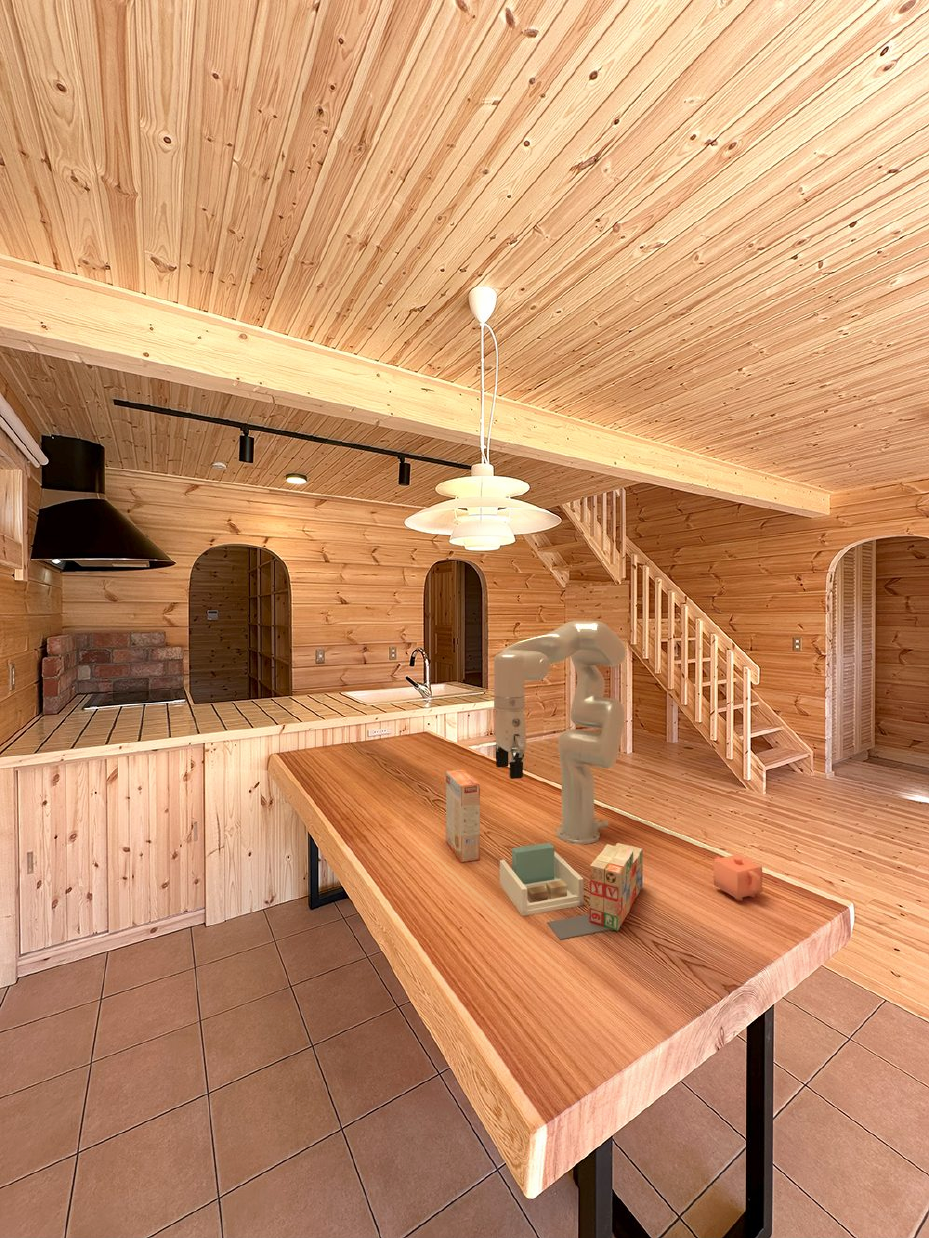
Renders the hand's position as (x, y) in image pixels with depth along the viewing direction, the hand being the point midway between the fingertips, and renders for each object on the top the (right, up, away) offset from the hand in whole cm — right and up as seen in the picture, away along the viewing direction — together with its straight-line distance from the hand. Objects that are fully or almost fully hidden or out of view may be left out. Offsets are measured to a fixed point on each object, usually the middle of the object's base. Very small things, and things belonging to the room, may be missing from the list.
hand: (509, 772), depth 128 cm
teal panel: (+6, -26, -2) cm, 27 cm away
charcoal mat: (+14, -27, -19) cm, 36 cm away
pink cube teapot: (+53, -27, -5) cm, 60 cm away
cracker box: (-11, -27, +17) cm, 34 cm away
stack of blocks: (+24, -27, -10) cm, 37 cm away
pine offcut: (+10, -26, -9) cm, 29 cm away
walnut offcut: (+6, -26, -10) cm, 29 cm away
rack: (+7, -27, -6) cm, 29 cm away
